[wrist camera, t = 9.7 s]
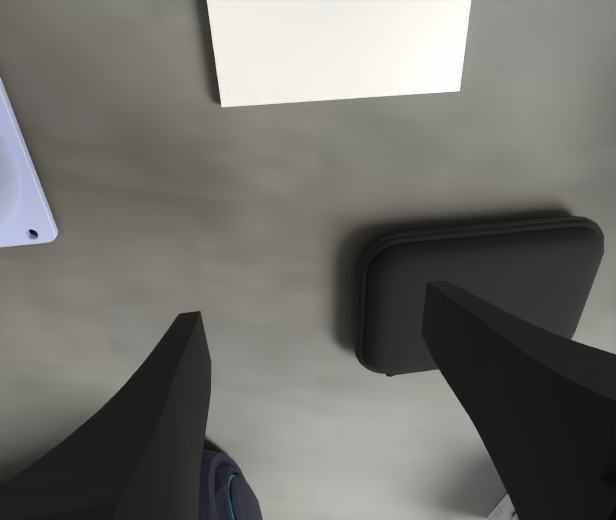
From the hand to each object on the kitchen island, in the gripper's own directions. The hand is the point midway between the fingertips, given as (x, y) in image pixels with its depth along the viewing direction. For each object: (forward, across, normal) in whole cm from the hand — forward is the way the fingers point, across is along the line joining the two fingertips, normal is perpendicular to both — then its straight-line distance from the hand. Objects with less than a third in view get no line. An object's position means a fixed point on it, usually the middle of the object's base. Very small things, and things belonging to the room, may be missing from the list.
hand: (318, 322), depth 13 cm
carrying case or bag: (+10, -11, +7) cm, 16 cm away
